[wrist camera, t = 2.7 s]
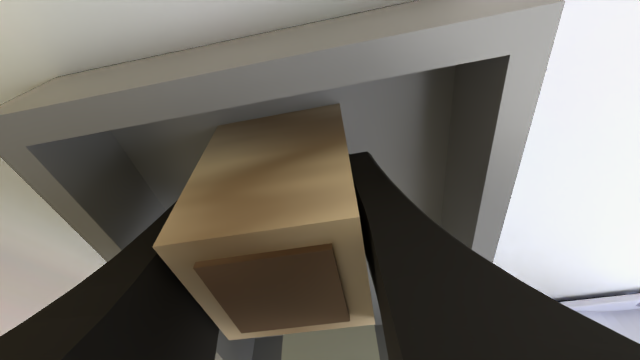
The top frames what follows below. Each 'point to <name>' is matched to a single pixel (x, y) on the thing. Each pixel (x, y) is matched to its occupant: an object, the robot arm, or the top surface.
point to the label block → (272, 228)
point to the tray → (294, 95)
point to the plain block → (332, 344)
